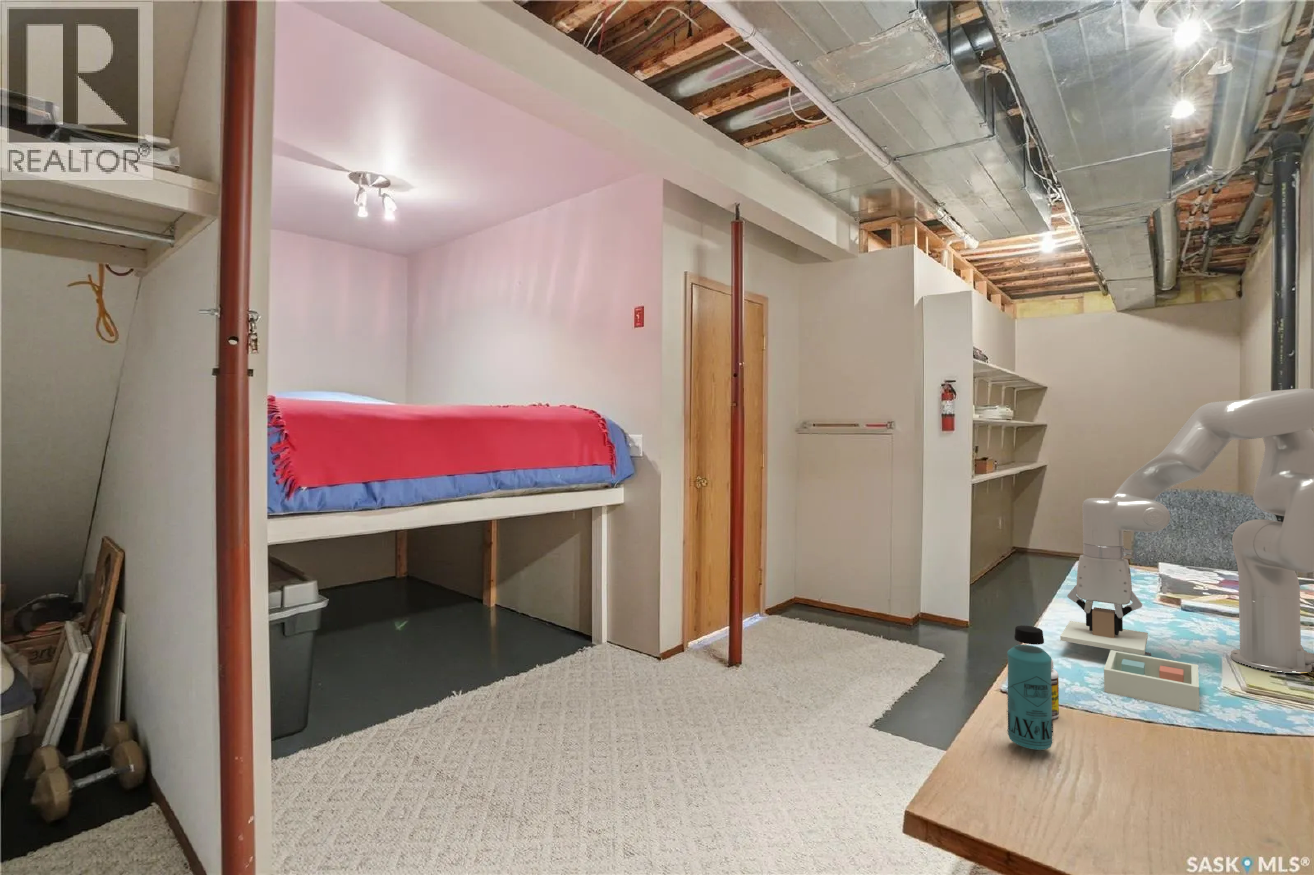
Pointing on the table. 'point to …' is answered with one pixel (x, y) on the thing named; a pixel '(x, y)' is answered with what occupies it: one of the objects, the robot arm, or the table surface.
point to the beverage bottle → (1029, 691)
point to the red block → (1171, 674)
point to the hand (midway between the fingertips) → (1104, 630)
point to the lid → (1105, 634)
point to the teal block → (1133, 667)
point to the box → (1152, 681)
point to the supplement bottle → (1055, 692)
